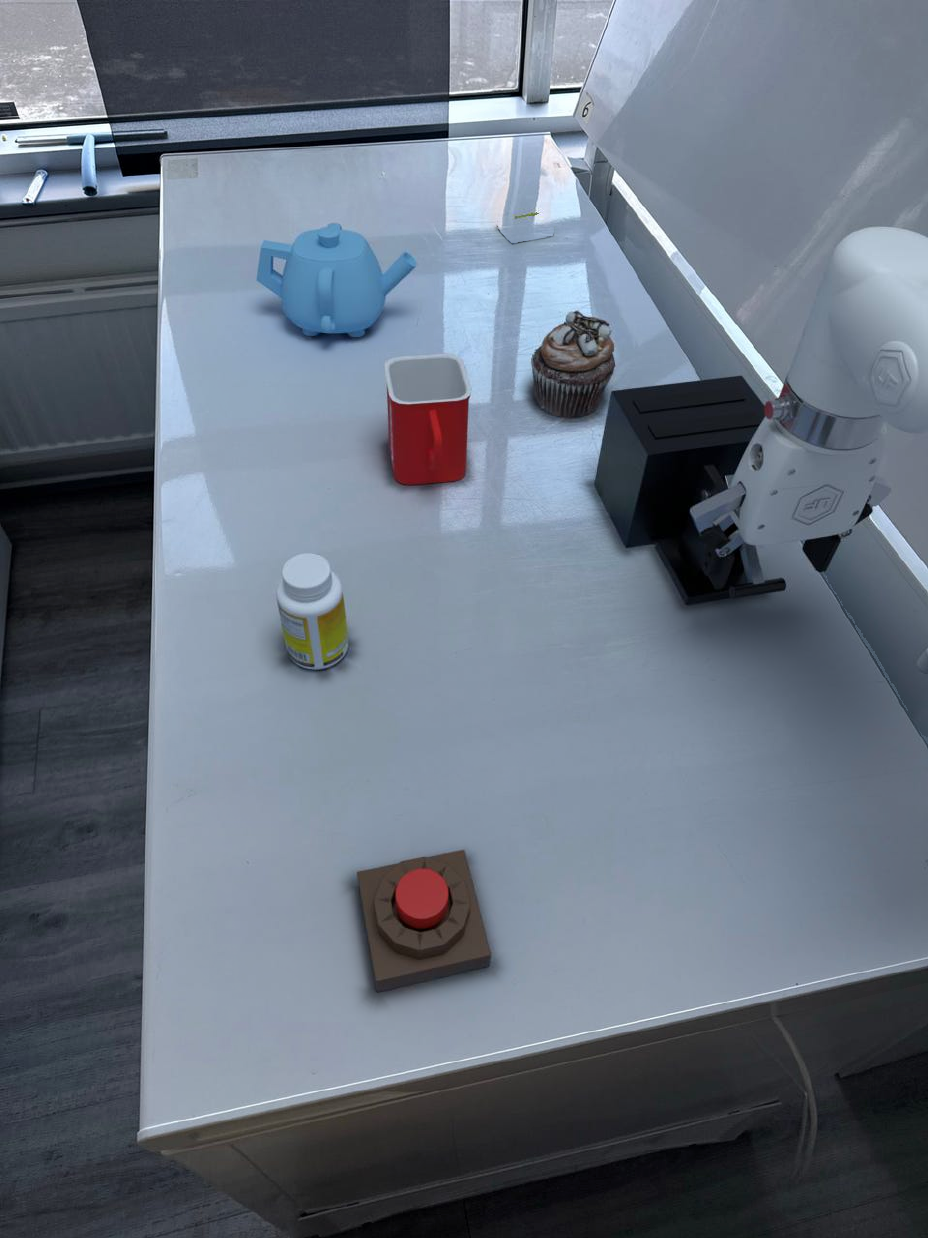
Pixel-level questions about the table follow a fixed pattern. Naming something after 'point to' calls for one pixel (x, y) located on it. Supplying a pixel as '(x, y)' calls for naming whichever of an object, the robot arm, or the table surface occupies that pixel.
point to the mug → (427, 417)
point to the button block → (422, 951)
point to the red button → (421, 898)
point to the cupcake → (573, 366)
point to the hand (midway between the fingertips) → (763, 568)
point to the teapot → (330, 280)
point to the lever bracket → (699, 550)
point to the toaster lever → (752, 570)
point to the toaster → (670, 450)
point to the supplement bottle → (312, 612)
